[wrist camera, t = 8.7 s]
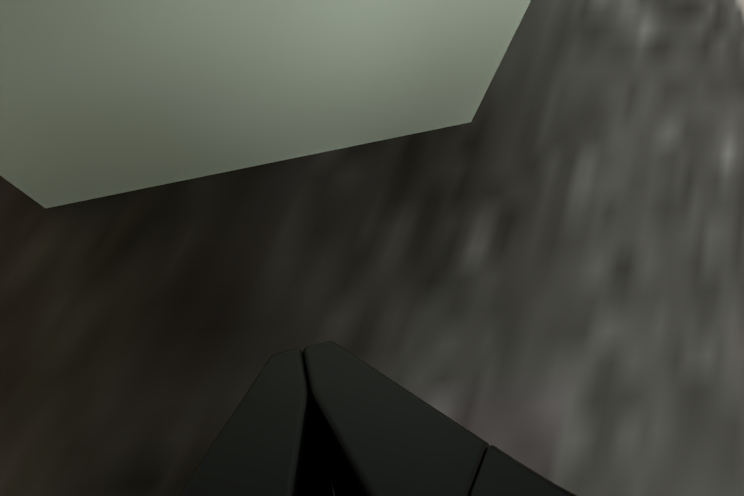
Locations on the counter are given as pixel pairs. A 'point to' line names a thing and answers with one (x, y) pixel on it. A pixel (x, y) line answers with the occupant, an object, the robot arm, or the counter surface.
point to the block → (228, 83)
